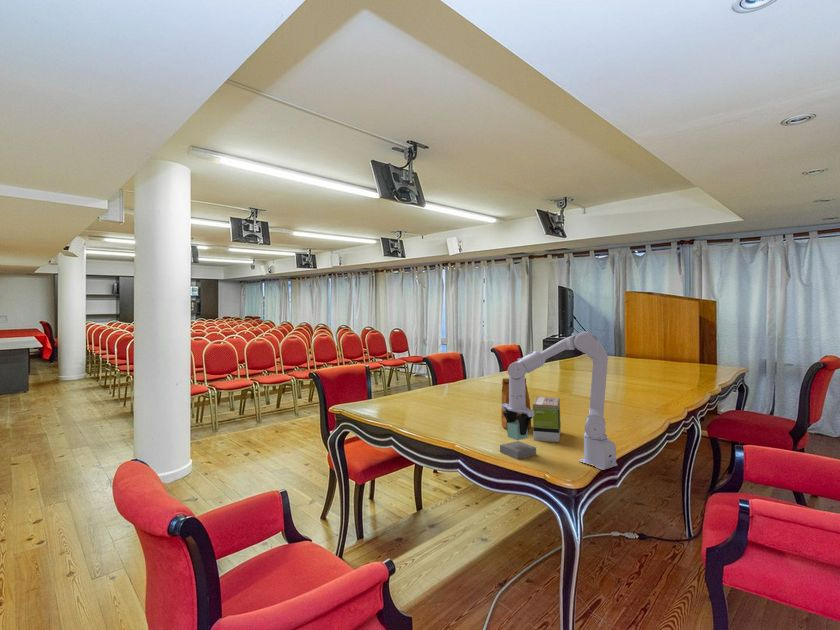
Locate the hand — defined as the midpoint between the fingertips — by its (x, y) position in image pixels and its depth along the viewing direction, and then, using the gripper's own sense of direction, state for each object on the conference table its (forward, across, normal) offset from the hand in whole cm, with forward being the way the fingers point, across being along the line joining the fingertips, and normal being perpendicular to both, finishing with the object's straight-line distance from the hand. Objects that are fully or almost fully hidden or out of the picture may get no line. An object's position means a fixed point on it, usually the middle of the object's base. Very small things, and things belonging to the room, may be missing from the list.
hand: (517, 432), depth 148 cm
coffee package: (+8, -25, +23) cm, 35 cm away
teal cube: (+2, 0, 0) cm, 2 cm away
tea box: (+8, -9, +25) cm, 28 cm away
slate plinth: (+7, 0, 0) cm, 7 cm away
